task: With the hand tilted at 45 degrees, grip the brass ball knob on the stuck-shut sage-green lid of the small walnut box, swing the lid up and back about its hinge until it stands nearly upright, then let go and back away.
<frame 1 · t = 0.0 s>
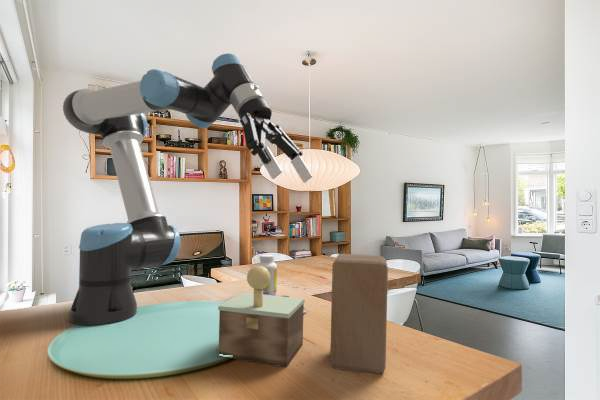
hand: (294, 177, 81), 36 cm above the table, tool tilted 35°, fingers open, 13 cm apart
supplement bottle: (266, 295, 117), on the table
lid: (263, 284, 73), point 13 cm above the table, hinge at 0.0°
speckled grey ring: (284, 313, 100), on the table
block: (358, 362, 69), on the table
box: (262, 350, 73), on the table
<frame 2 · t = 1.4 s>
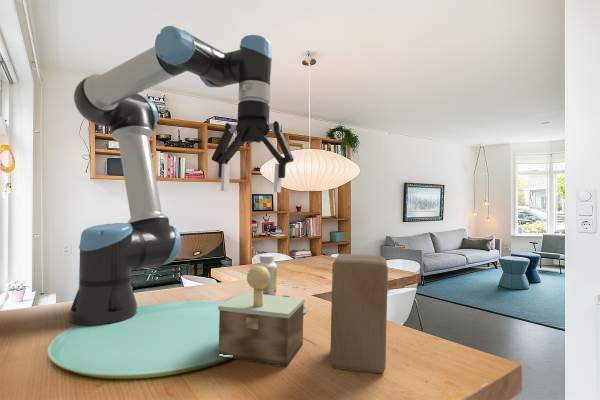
hand: (250, 191, 86), 33 cm above the table, tool pointing down, fingers open, 13 cm apart
nothing on the table moved.
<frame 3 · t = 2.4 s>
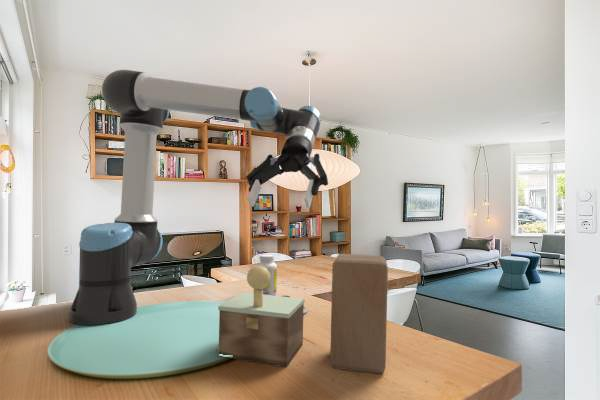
hand: (277, 203, 81), 30 cm above the table, tool tilted 45°, fingers open, 13 cm apart
nothing on the table moved.
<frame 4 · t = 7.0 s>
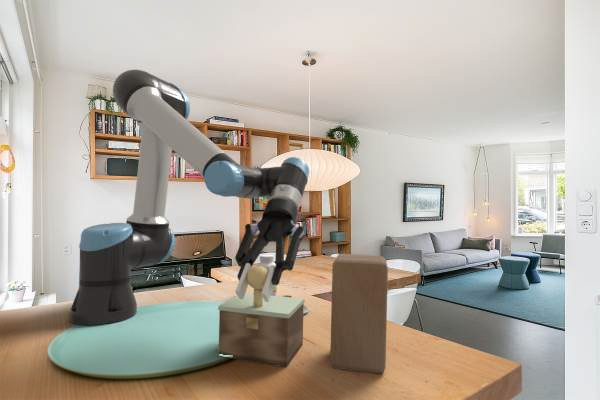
hand: (252, 296, 67), 12 cm above the table, tool tilted 45°, fingers closed on lid, 5 cm apart
lid: (263, 284, 73), point 13 cm above the table, hinge at 0.0°, touching gripper
everything else where it was.
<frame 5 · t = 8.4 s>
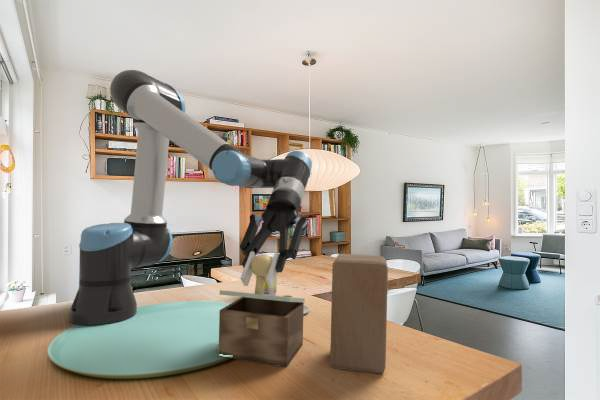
hand: (256, 283, 70), 15 cm above the table, tool tilted 45°, fingers closed on lid, 5 cm apart
lid: (266, 277, 74), point 15 cm above the table, hinge at 15.2°, touching gripper
everything else where it was.
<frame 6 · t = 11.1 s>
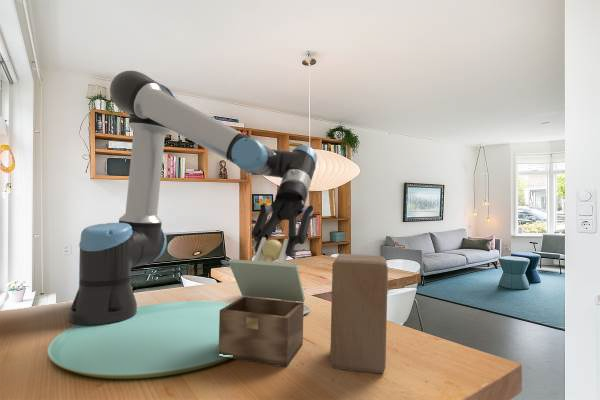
hand: (268, 265, 76), 17 cm above the table, tool tilted 45°, fingers closed on lid, 5 cm apart
lid: (272, 266, 78), point 16 cm above the table, hinge at 50.4°, touching gripper
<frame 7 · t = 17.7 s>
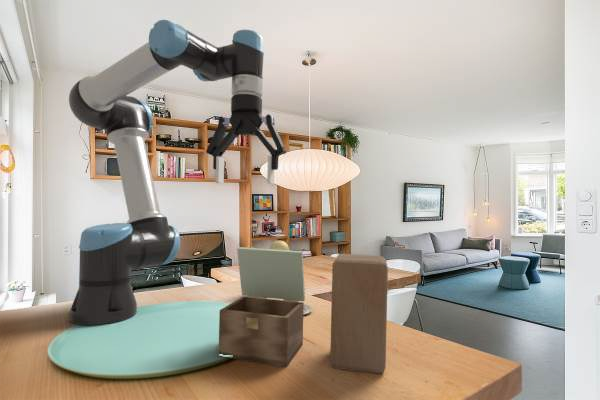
hand: (244, 183, 88), 35 cm above the table, tool pointing down, fingers open, 13 cm apart
lid: (277, 266, 81), point 16 cm above the table, hinge at 74.1°
at the end: lid at +74° (first picture: +0°); the gripper is holding nothing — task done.
